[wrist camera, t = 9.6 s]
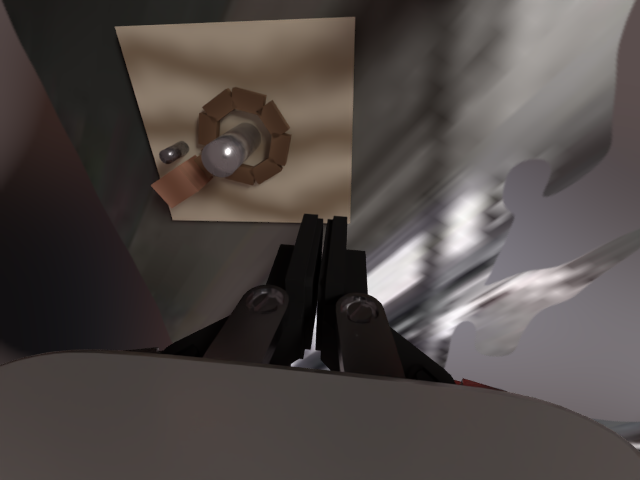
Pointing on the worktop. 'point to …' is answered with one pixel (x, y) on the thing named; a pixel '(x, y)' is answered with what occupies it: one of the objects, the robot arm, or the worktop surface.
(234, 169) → the grey cylinder
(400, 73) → the worktop surface
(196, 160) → the ring with handle
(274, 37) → the board
